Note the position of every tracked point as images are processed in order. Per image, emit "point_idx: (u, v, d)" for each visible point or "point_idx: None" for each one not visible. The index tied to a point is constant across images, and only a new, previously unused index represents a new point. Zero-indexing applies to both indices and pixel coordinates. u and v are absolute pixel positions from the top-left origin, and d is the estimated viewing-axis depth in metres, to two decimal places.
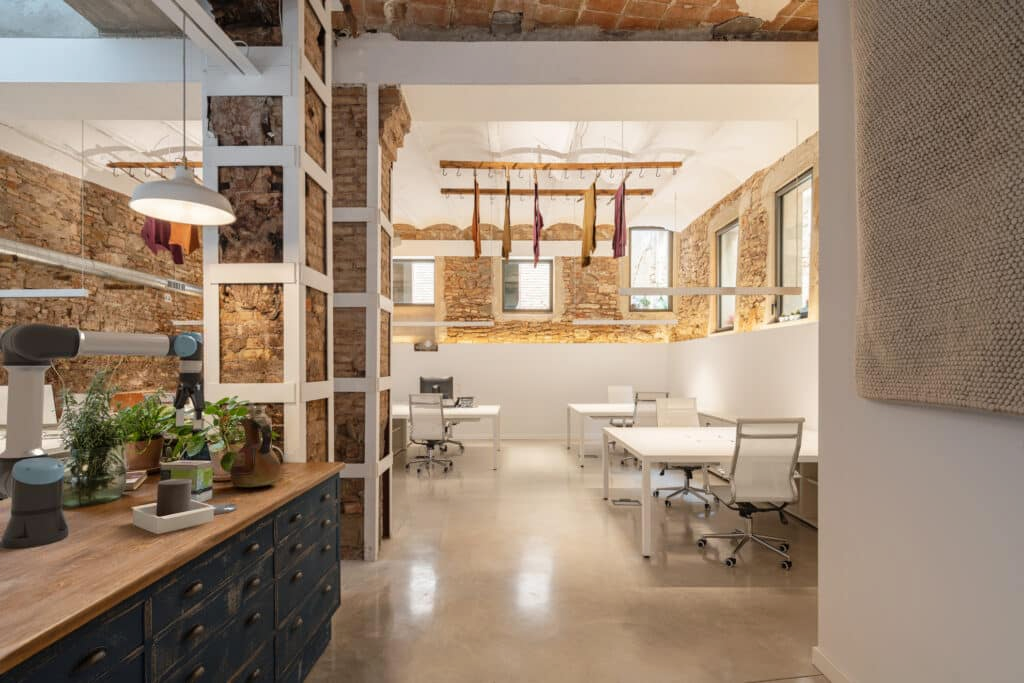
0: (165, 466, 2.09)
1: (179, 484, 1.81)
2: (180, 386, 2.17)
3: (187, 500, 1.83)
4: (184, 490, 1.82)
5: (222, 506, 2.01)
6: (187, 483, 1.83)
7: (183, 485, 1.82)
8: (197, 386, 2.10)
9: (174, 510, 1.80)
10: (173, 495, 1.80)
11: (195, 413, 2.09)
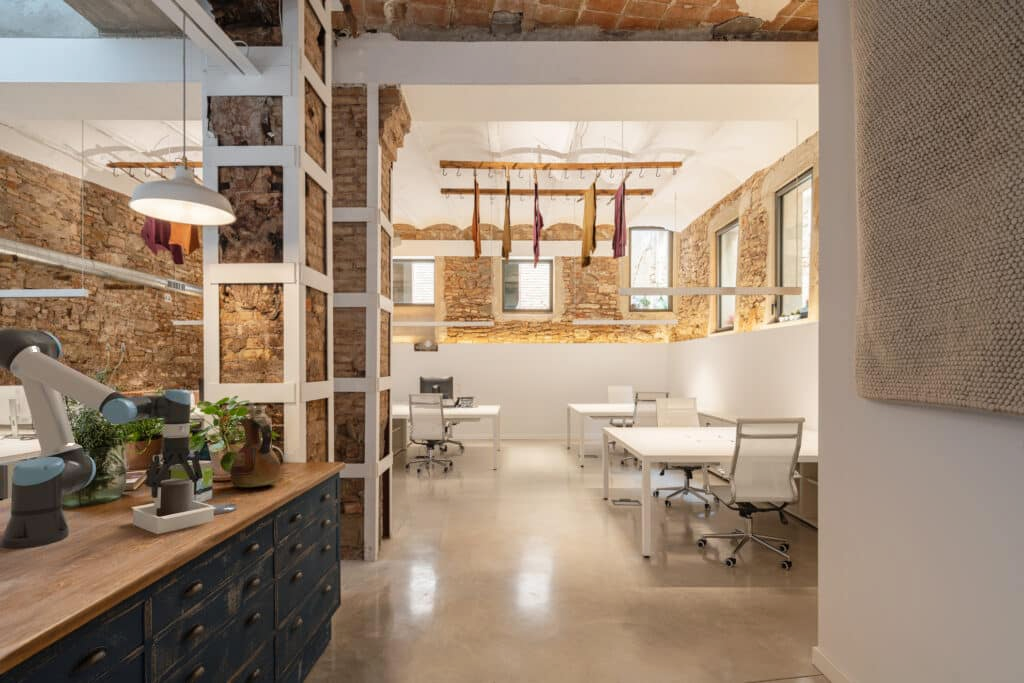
0: None
1: (179, 484, 1.81)
2: None
3: (187, 500, 1.83)
4: (184, 490, 1.82)
5: (222, 506, 2.01)
6: (187, 483, 1.83)
7: (183, 485, 1.82)
8: (152, 457, 1.79)
9: (174, 510, 1.80)
10: (173, 495, 1.80)
11: None
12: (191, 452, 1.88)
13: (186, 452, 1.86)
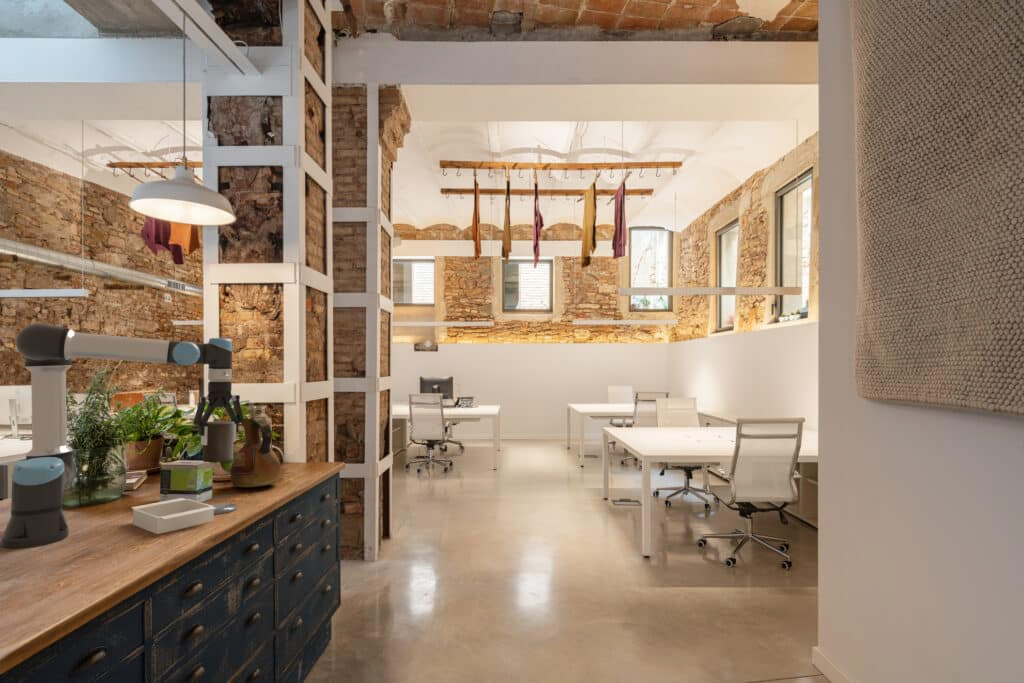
0: (165, 466, 2.09)
1: (224, 424, 1.97)
2: None
3: (231, 439, 1.99)
4: (228, 429, 1.98)
5: (222, 506, 2.01)
6: (231, 423, 1.99)
7: (227, 425, 1.98)
8: (199, 398, 1.95)
9: (220, 447, 1.96)
10: (218, 434, 1.96)
11: None
12: (233, 396, 2.04)
13: (229, 396, 2.02)
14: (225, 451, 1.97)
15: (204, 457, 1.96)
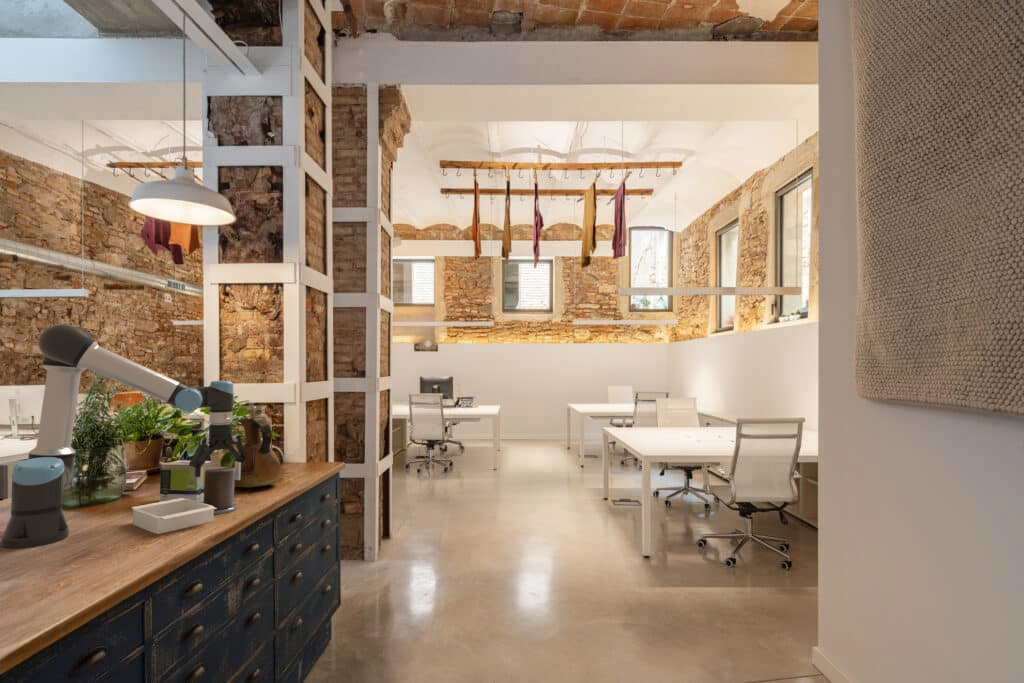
0: (165, 466, 2.09)
1: (225, 471, 1.98)
2: None
3: (231, 486, 2.00)
4: (229, 476, 1.99)
5: None
6: (231, 470, 2.00)
7: (228, 472, 1.98)
8: (200, 440, 1.96)
9: (220, 495, 1.96)
10: (219, 481, 1.96)
11: None
12: (234, 437, 2.05)
13: (229, 438, 2.03)
14: (226, 499, 1.98)
15: None
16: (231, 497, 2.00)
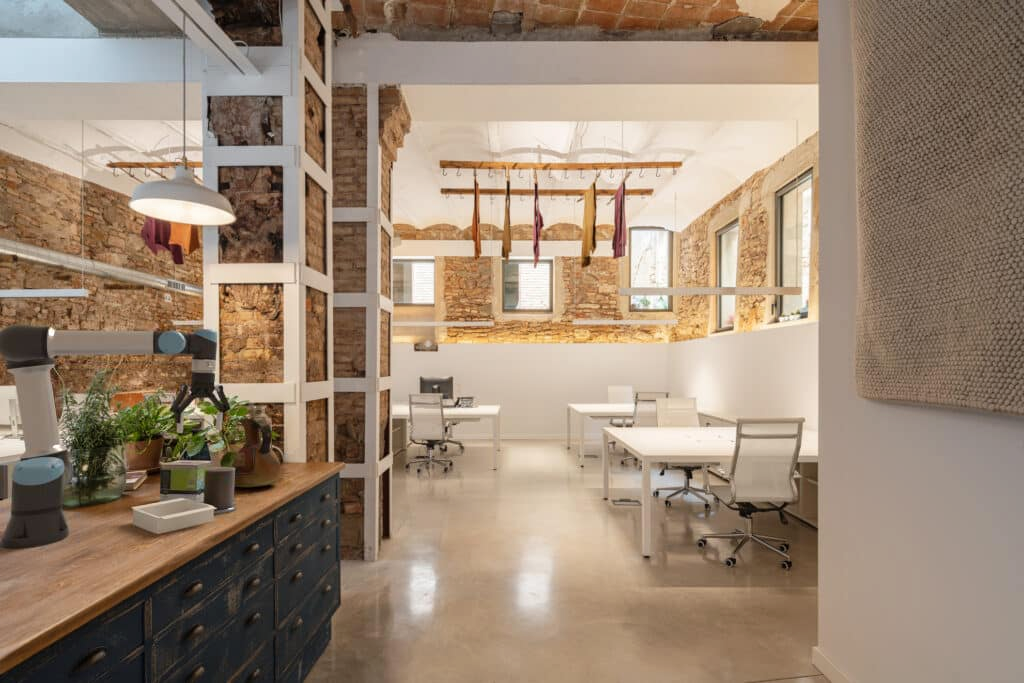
0: (165, 466, 2.09)
1: (225, 471, 1.98)
2: None
3: (231, 486, 2.00)
4: (229, 476, 1.99)
5: None
6: (231, 470, 2.00)
7: (228, 472, 1.98)
8: (182, 386, 1.94)
9: (220, 495, 1.96)
10: (219, 481, 1.96)
11: None
12: (216, 387, 2.04)
13: (212, 387, 2.02)
14: (226, 498, 1.98)
15: None
16: (231, 497, 2.00)
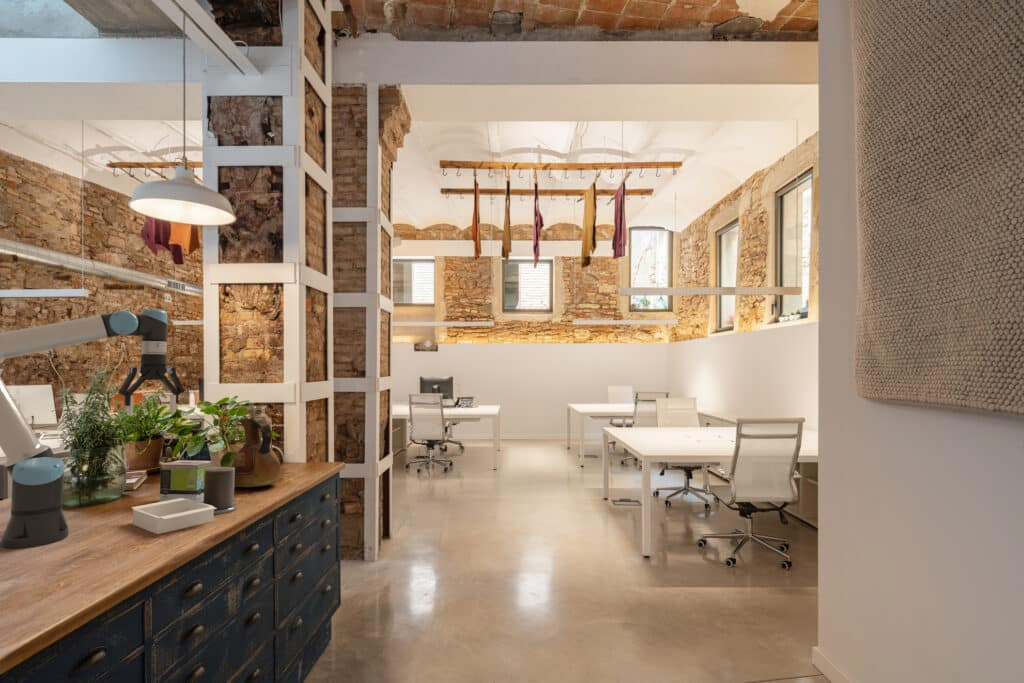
0: (165, 466, 2.09)
1: (225, 471, 1.97)
2: None
3: (231, 486, 2.00)
4: (229, 476, 1.99)
5: None
6: (231, 470, 2.00)
7: (228, 472, 1.98)
8: (131, 368, 1.90)
9: (220, 495, 1.96)
10: (219, 481, 1.96)
11: None
12: (168, 369, 1.99)
13: (163, 369, 1.97)
14: (226, 498, 1.97)
15: None
16: (231, 497, 2.00)
